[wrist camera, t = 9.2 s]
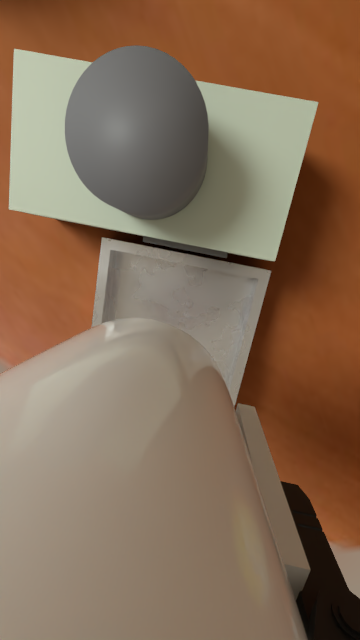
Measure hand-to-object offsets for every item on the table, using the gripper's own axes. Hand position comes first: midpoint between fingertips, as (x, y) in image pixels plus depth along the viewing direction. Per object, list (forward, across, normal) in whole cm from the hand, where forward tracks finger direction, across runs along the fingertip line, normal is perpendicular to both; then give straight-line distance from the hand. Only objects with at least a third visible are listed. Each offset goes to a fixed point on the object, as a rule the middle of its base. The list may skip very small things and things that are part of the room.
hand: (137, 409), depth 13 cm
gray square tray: (+14, 0, 0) cm, 14 cm away
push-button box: (+14, +3, -12) cm, 19 cm away
